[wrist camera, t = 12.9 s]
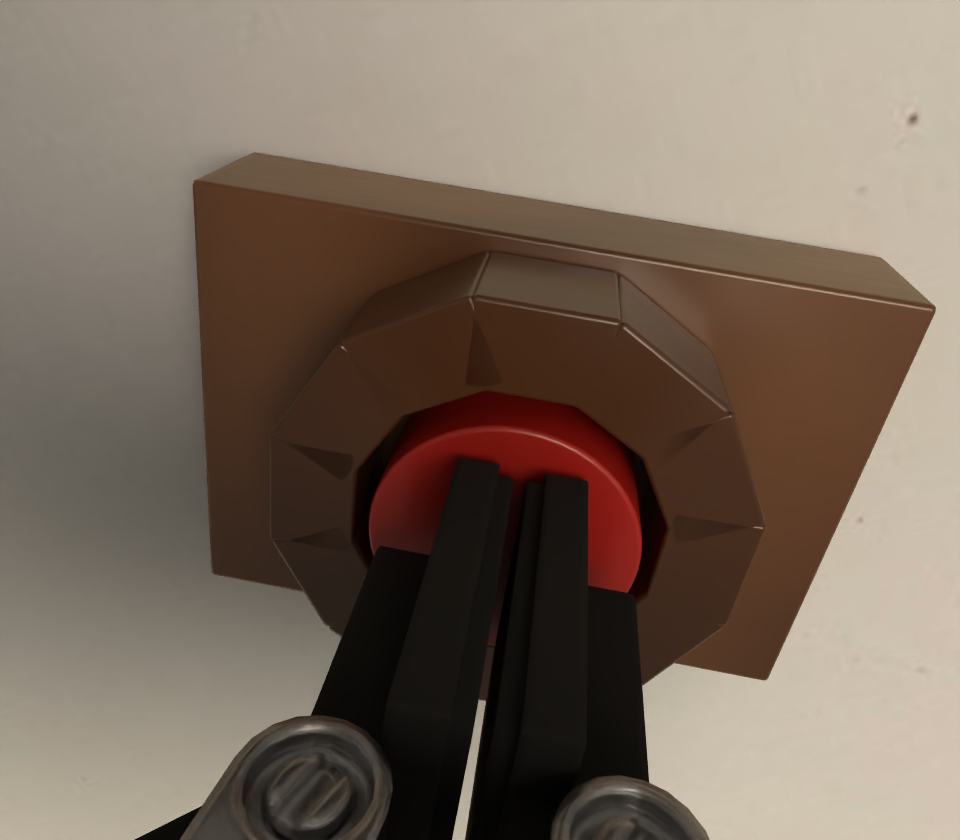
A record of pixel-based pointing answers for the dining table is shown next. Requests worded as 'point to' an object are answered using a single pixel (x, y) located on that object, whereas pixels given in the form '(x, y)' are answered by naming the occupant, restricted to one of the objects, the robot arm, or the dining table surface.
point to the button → (522, 456)
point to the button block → (539, 381)
